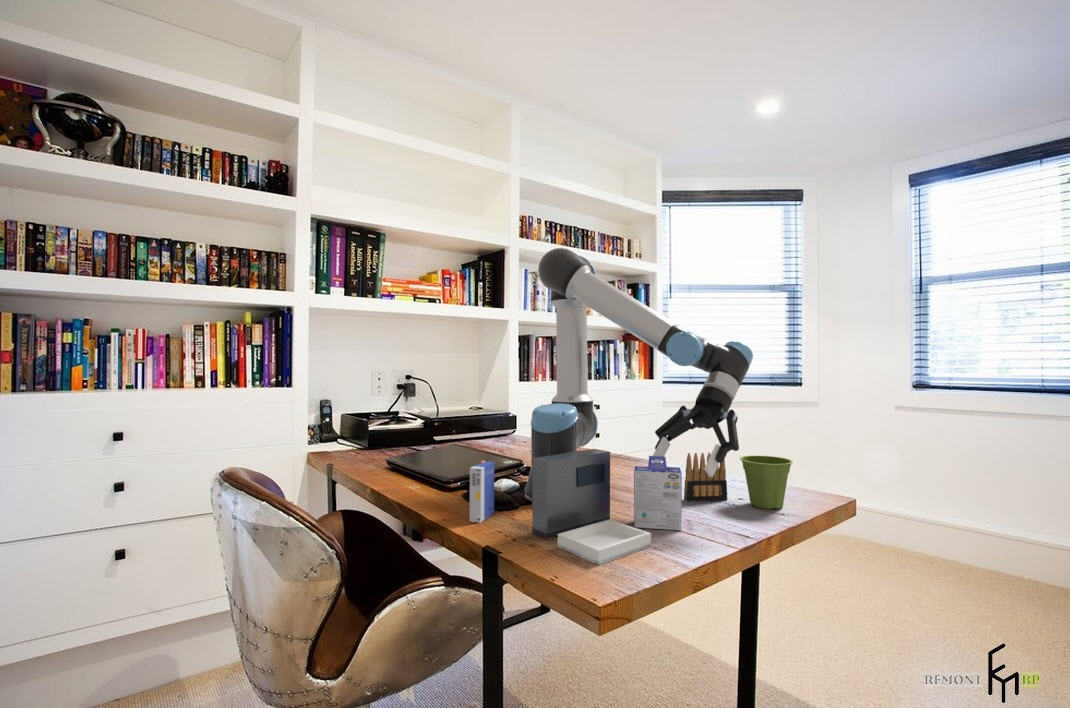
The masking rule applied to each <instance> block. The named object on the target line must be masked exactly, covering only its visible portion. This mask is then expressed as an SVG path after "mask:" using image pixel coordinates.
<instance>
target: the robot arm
mask: <svg viewBox="0 0 1070 708" xmlns="http://www.w3.org/2000/svg"><path fill="white" fill-rule="evenodd" d="M538 277H539V279H540V281H541V283H542V285H544V287H546V288H547V290H550V304H551V305H552V306H553V307H554V308H555V309H556V310H555V312H556V314H555V317H556V326H555V327H556V331H555V332H556V394H555V395H554V396H553V398H552V399H551V403H548V404H541V405H539V406H537V407H535V408H534V409H533V410H532V413H531V420H530V429H531V431H530V432H531V435H530V436H531V439H530V440H531V441H530V442H531V443H530V445H531V447H530V449H531V450H530V451H531V459H530V460H531V462H530V463H531V464H530V465H531V466H530V470H529V474H528V477H527V480H526V485H525V486H524V493H525V494H526V495H527V496H529V497H530V498H533V458H538V457H544V456H551V455H557V454H564V453H570V452H577V451H578V449H579V448H581V447H584V446H586V445H588V444H589V443H590V442H591V441H592V440H593V439H594V437H595V436H596V434H597V432H598V429H599V428H598V427H599V421H598V416H597V415H596V413H595V412H594V399H593V398H592V397H591V396H590V395H589V393H588V307H589V308H590V309H591V310H593V311H595V312H596V313H598V314H600V316H603V318H605V319H607V320H609V321H611V322H612V323H614V324H615V325H617V326H619V327H620V328H622V329H623V330H625V331H626V332H628V333H630V334H631V335H633V336H635V337H636V338H638V339H639V340H641V341H642V342H644V343H645V344H647V345H649V346H650V347H652V348H654V349H655V350H657V351H658V352H660V353H661V354H663V355H664V356H666V357H667V358H668V359H670V361H671V362H673V363H674V364H677V365H678V366H680V367H689V366H691V367H694V368H697V369H698V370H702V371H704V372H705V373H708V376H707V378H706V379H705V381H704V383H703V386H702V388H701V389H700V391H699V393H698V395H697V397H696V399H695V404H694V406H693V407H692V408H687V407H686V405H681V406H680V407H679V409H678V410H677V412H676V413H675V414H673V415H672V416H671V417H669V419H667V421H665V422H664V423H663V424H662V425H661V426H659V427H658V428H657V429H656V430H655V431H654V433H655V436H657V438H658V441H657V443H656V445H655V446H654V449H655V450H654V452H653V455H652V456H661V457H666V454H667V452H668V450H669V449H670V446H671V443H670V442H671V441H673V440H675V439H676V438H677V437H679V436H681V435H682V434H684V433H686V432H688V431H690V430H694V429H696V428H697V429H706V430H710V429H711V428H712V429H713V432H714V433H715V436H716V438H717V440H718V443H719V444H718V443H716V444H715V445H714V447H713V450H712V452H711V453H710V455H711V456H710V458H709V460H708V462H707V461H706V463H705V468H704V469H705V471H706V473H707V474H708V476H709V477H713V475H714V473H715V471H716V469H717V467H718V466H719V465H720V463H722V462H723V461H724V459H726V456H727V454H728V453H729V452H730V451H734V452H737V451H739V449H740V446H739V445H740V444H739V438H738V437H739V436H738V429H737V423H738V419H739V417H738V415H737V413H736V411H735V410H734V409H731V406H732V403H733V401H734V399H735V398H736V396H737V393H738V391H739V389H740V388H741V385H742V383H743V382H744V379H745V378H746V375H747V373H748V371H749V369H750V367H751V364H752V361H753V359H754V357H753V356H754V354H753V351H752V349H751V348H750V347H749V346H748V345H747V344H746V343H744V342H741V341H734V340H730V341H728V342H726V343H725V344H724V345H721V344H718V343H714V342H713V341H711V340H708V339H705V338H703V337H701V336H699V335H696V334H694V333H693V332H691V331H689V330H687V329H685V328H684V327H682V326H681V325H678V324H677V323H675V321H672V320H671V319H669V318H667V317H666V316H664V315H662V314H661V313H659V312H657V311H656V310H654V309H653V308H651V307H649V306H648V305H646V304H645V303H642V302H641V301H639V300H637V299H636V298H635V297H633V296H631V295H630V294H628V293H627V292H624V291H623V290H621V289H619V288H618V287H616V286H614V285H612V284H611V283H609V282H608V281H606V280H604V279H603V278H601V277H600V276H598V275H597V273H596V270H595V268H594V266H593V264H592V263H590V261H589V260H588V259H586V257H584V256H582V255H578V254H577V253H575V252H574V251H572V250H570V249H568V248H564V247H559V248H558V247H556V248H553V249H550V250H549V251H547V252H546V253H544V254H543V256H542V257H541V259H540V261H539V263H538ZM724 420H726V426H727V427H726V428H727V435H728V441H727V439H726V437H725V436H724V433H723V431H722V428H721V427H720V423H721V422H723V421H724ZM691 421H692V423H691ZM651 462H652V463H662V462H663V461H662V460H659V459H655V460H652V461H651ZM524 493H523V494H524Z"/></svg>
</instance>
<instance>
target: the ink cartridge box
mask: <svg viewBox="0 0 1070 708" xmlns="http://www.w3.org/2000/svg"><path fill="white" fill-rule="evenodd" d="M655 459H659V460H662V461H661V463H653V461H652V460H655ZM682 477H683V476H682V471H681V468H680V467H678V466H677V467H674V466H673V467H672V466H667V460H666V456H664V457H661V456H653V455H648V465H647V466H643V465H641V466H637V465H635V466H634V470H633V500H634V501H633V505H634V507H633V516H634V517H633V527H634V528H637V529H654V530H656V529H657V530H667V531H682V517H683V516H682V515H683V514H682V511H683V501H682V500H683V497H682V496H683V494H682V493H683V487H682V485H683V483H682V479H683V478H682Z"/></svg>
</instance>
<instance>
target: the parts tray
mask: <svg viewBox="0 0 1070 708" xmlns="http://www.w3.org/2000/svg"><path fill="white" fill-rule="evenodd" d="M651 547H652V532H649V531H646V530H643V529H641V528H636V527H634V526H630V525H628V524H625V523H621V522H618V521H616V520H613V519H611V518H610V519H609V520H605V521H602V522H598V523H595V524H591V525H588V526H584V527H581V528H577V529H574V530H570V531H567V532H563V533H560V534H558V537H557V548H558V549H560V550H562V549H563V551H564V550H565V552H567V551H568V552H567V553H569V552H570V554H571V553H572V555H574V556H576V557H578V556H579V558H581V559H582V560H585V561H588V562H590V563H593V564H594V563H595V565H597V566H601V565H603V564H606V563H609V562H612V561H615V560H618V559H621V558H623V557H626V556H628V555H632V554H634V553H637V552H639V551H642V550H646V549H648V548H651Z"/></svg>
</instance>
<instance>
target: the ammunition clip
mask: <svg viewBox="0 0 1070 708" xmlns="http://www.w3.org/2000/svg"><path fill="white" fill-rule="evenodd" d="M710 456H711V453H710V452H708V453H707V457H706V458H705V454H704V452H701V454H700V458H699V456H698V454H697V452H695V453H694V455H693V461H692V455H691V453H690V452H688V454H687V456H686V463H685V464H686V465H685V466H686V467H685V479H684V491H683V492H684V493H683V500H684V501H686V502H688V503H689V502H718V501H728V486H727V478H726V477H727V473H726V472H727V471H726V460H725V459H726V458H725V459H724V461H723V462H722V463H719V465H718V467H717V469H716V471H715V473H714V475H713V477H709V476H708V474H707V473H706V471H705V469H704V468H705V466H706V463H707V462H708V460H709V458H710Z"/></svg>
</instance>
